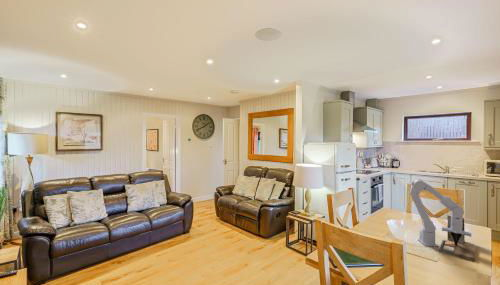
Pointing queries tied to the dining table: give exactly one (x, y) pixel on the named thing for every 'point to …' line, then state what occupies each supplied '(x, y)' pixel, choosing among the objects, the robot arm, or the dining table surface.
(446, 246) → the cream tile
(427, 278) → the dining table surface
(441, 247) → the tray
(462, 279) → the dining table surface
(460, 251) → the walnut ledge
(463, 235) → the coffee box
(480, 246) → the dining table surface
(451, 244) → the terracotta tile
